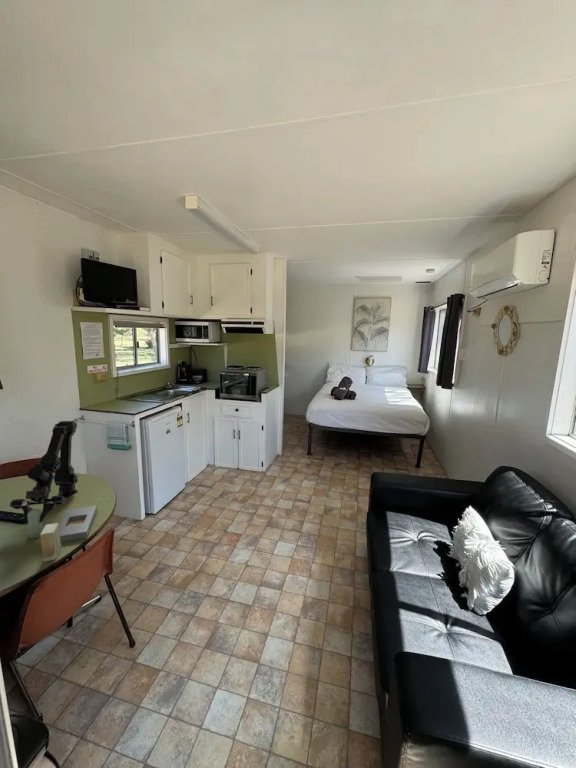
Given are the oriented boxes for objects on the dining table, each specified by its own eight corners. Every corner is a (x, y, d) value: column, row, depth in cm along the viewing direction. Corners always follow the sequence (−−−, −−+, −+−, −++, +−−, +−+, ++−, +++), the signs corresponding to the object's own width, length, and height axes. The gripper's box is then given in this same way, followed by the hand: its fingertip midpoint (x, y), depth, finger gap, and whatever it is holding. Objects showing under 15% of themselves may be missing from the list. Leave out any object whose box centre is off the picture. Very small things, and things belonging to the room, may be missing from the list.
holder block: (67, 515, 145) (67, 509, 144) (97, 511, 149) (96, 505, 148) (53, 543, 126) (52, 537, 126) (87, 537, 131) (86, 531, 130)
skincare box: (48, 550, 122) (45, 523, 120) (61, 548, 124) (59, 521, 122) (42, 562, 116) (39, 534, 114) (56, 560, 118) (53, 532, 116)
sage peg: (37, 530, 133) (35, 505, 131) (45, 532, 132) (43, 507, 130) (26, 537, 129) (24, 511, 127) (35, 539, 128) (32, 513, 126)
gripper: (9, 482, 127) (-4, 522, 119) (61, 478, 133) (52, 516, 124) (21, 490, 136) (10, 527, 128) (69, 486, 142) (61, 521, 133)
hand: (33, 523), depth 128 cm, fingers closed on sage peg, 4 cm apart
